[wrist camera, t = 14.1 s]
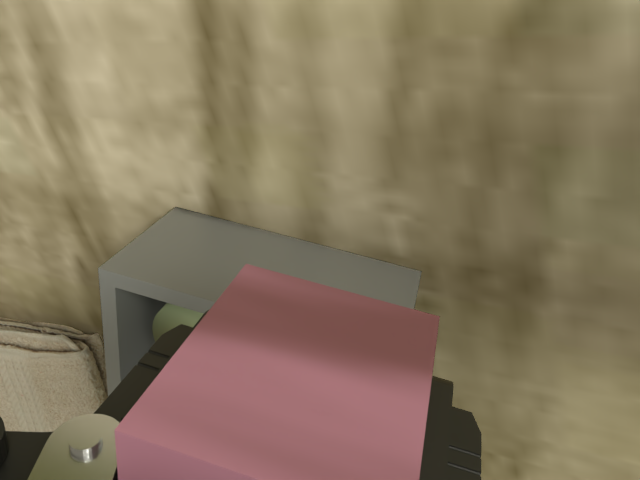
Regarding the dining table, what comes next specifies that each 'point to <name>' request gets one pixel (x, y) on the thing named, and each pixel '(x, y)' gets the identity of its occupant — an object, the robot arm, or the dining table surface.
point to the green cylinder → (173, 319)
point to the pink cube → (287, 389)
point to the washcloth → (48, 375)
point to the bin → (218, 276)
